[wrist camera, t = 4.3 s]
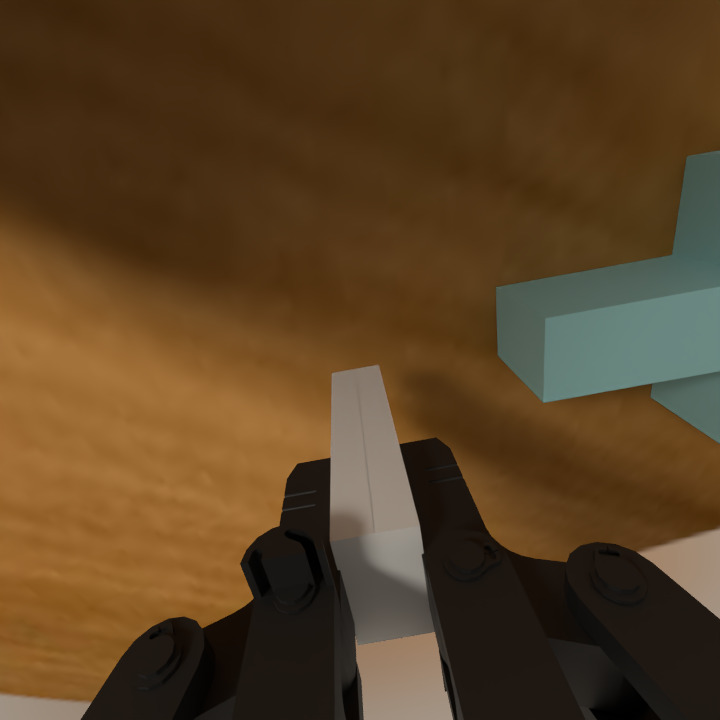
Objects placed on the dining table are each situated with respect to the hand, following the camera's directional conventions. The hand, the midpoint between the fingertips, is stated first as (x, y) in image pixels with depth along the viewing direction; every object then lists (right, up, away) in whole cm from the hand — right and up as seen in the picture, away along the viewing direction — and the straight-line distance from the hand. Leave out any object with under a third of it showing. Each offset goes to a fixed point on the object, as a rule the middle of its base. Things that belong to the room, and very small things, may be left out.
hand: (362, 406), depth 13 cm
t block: (+10, +4, +3) cm, 12 cm away
